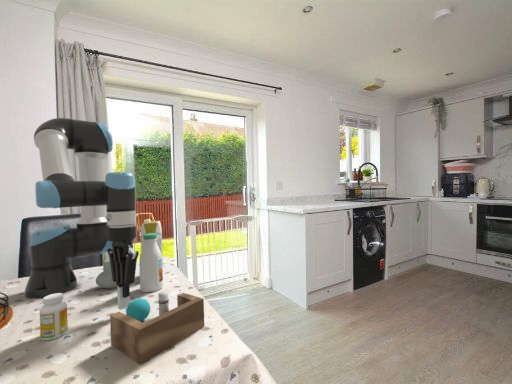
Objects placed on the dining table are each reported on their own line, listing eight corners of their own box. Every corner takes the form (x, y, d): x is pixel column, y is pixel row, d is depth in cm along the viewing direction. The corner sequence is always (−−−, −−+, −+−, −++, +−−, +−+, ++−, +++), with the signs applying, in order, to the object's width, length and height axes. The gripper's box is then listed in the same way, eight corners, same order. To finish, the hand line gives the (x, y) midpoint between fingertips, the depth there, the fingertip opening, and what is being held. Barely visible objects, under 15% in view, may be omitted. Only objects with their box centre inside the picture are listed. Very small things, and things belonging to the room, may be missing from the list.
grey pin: (157, 326, 66) (156, 293, 66) (165, 322, 68) (164, 290, 68) (163, 329, 65) (162, 295, 65) (171, 325, 67) (170, 292, 67)
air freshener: (103, 293, 91) (102, 264, 91) (92, 288, 95) (91, 262, 95) (132, 283, 100) (131, 257, 100) (120, 279, 105) (120, 255, 105)
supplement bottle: (64, 326, 68) (63, 290, 68) (70, 333, 64) (69, 294, 64) (38, 336, 64) (36, 297, 64) (43, 343, 60) (42, 302, 60)
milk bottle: (155, 293, 89) (153, 235, 89) (135, 292, 91) (133, 235, 91) (167, 285, 97) (165, 232, 97) (148, 284, 98) (147, 232, 98)
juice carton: (144, 273, 112) (142, 218, 112) (163, 271, 114) (161, 217, 114) (141, 280, 103) (139, 220, 103) (162, 278, 105) (160, 219, 105)
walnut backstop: (111, 345, 59) (110, 315, 59) (174, 314, 73) (173, 289, 73) (140, 364, 52) (139, 329, 52) (204, 325, 66) (203, 298, 66)
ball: (134, 310, 65) (132, 331, 66) (155, 300, 70) (153, 320, 71) (122, 299, 68) (121, 319, 69) (143, 291, 73) (142, 310, 74)
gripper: (97, 226, 75) (99, 307, 75) (120, 229, 67) (123, 318, 67) (122, 223, 81) (125, 298, 81) (146, 225, 74) (149, 307, 74)
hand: (124, 307), depth 74 cm, fingers closed
